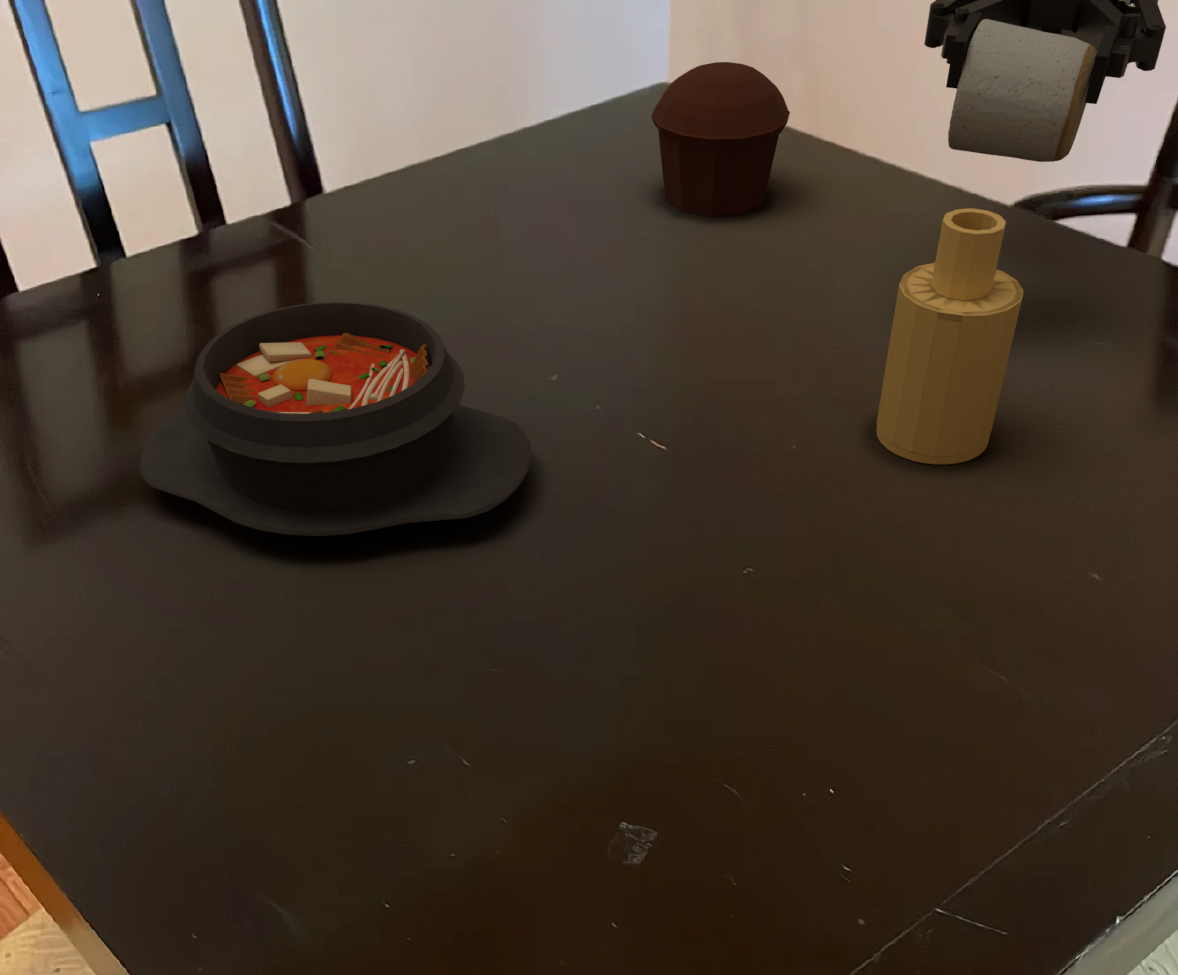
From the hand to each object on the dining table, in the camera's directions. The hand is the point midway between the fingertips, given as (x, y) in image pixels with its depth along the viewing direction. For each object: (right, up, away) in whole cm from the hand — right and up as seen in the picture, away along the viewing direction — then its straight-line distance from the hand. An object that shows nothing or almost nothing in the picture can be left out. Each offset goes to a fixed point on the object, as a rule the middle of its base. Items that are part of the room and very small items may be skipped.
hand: (1025, 72), depth 86 cm
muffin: (-17, +8, +32) cm, 37 cm away
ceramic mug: (+1, -1, +8) cm, 8 cm away
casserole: (-44, -26, +1) cm, 51 cm away
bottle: (-5, -22, +4) cm, 23 cm away
